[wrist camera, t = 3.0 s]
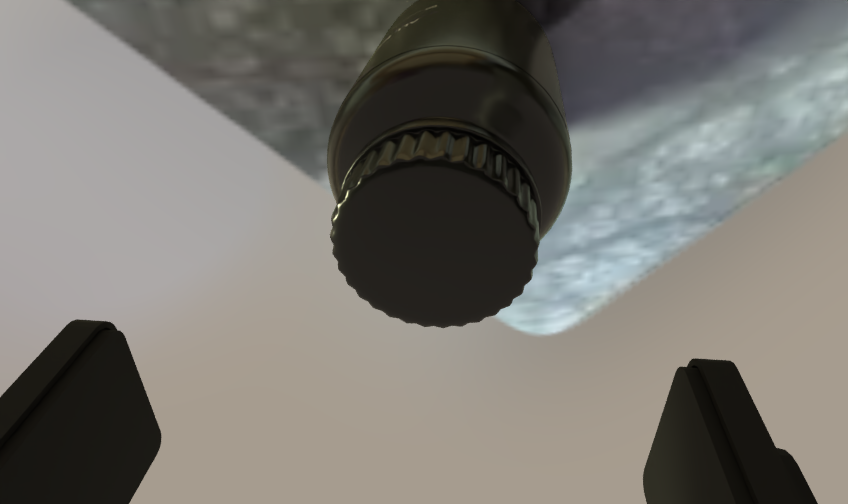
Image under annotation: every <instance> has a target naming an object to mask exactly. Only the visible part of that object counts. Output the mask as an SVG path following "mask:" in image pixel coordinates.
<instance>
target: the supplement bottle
mask: <svg viewBox="0 0 848 504" xmlns="http://www.w3.org/2000/svg"><path fill="white" fill-rule="evenodd" d="M327 168H328V176H329V181H330V186H331V189H332V192H333V196H334V198H335V200H336V203H337V205H336V208H335V210H334V212H333V214H332V218H331V221H332V226H333V228H332V230H331V234H330V238H331V240H332V242H333V244H334V246H333V255H334V257H335V258H336V259H337V261H338V269H339V271H341V273H342V274H343V275H344V276H345V277H346V281H347V284H348V285H349V286H351V287H353V288H354V289H355V290H356V292H357V294H358V295H359V297H360V298H362V299H364V300H366V301H368V302H369V303H370V305H371V306H372V307H373V308H375V309H378V310H381V311H383V312H384V313H386V314H387V315H388V316H389V317H393V318H399V319H401V320H403V321H404V322H406V323H417V324H419V325H421V326H424V327H429V326H436V327H441V328H445V327H448V326H464V325H466V324H467V323H473V322H474V323H475V322H480V321H481V320H483V319H484V318H485V317H489V316H494V315H496V314H497V313H498V312H499V310H500V309H502V308H505V307H508V306H510V305H511V303H512V301H513V299H514V298H516V297H518V296H519V295H521V294H522V293H523V290H524V286H525V285H526V284H527V283H528V282H529V281H530V280H531V279H532V276H533V268H534V267H535V266H536V264H537V261H538V246H539V243H540V240H541V239H542V238H543V237H544V236H545V235H546V234H547V233H548V231H549V230H550V229H551V227H552V226H553V225H554V223H555V222H556V220H557V218H558V217H559V215H560V213H561V211H562V209H563V206H564V204H565V202H566V198H567V195H568V192H569V188H570V183H571V175H572V153H571V144H570V138H569V132H568V127H567V121H566V116H565V111H564V106H563V101H562V96H561V91H560V85H559V80H558V75H557V70H556V65H555V61H554V57H553V53H552V49H551V47H550V44H549V41H548V39H547V37H546V35H545V33H544V31H543V29H542V28H541V26H540V25H539V23H538V22H537V20H536V19H535V18H534V17H533V15H532V14H531V13H530V12H529V11H528V10H527V9H526V8H524V7H523V6H522V5H521V4H519V3H518V2H517V1H515V0H418V1H416V2H415V3H413V4H412V5H411V6H410V7H409V8H407V9H406V10H405V11H404V12H403V13H402V14H401V15H400V16H399V17H398V18H397V20H396V21H395V22H394V23H393V25H392V26H391V28H390V29H389V30H388V32H387V33H386V35H385V36H384V38H383V40H382V41H381V43H380V44H379V46H378V47H377V49H376V51H375V52H374V54H373V55H372V57H371V58H370V60H369V62H368V63H367V65H366V66H365V68H364V69H363V71H362V73H361V74H360V76H359V77H358V79H357V80H356V82H355V84H354V85H353V87H352V88H351V90H350V92H349V93H348V95H347V96H346V98H345V99H344V101H343V103H342V105H341V107H340V109H339V111H338V113H337V115H336V118H335V120H334V123H333V126H332V128H331V132H330V136H329V142H328V149H327Z"/></svg>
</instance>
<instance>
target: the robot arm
mask: <svg viewBox="0 0 848 504" xmlns="http://www.w3.org/2000/svg"><path fill="white" fill-rule="evenodd" d="M160 444H161V432H160V429H159V426H158V423H157V421H156V418H155V415H154V413H153V410H152V407H151V405H150V402H149V399H148V397H147V394H146V391H145V389H144V386H143V383H142V381H141V378H140V376H139V373H138V370H137V367H136V365H135V362H134V360H133V357H132V354H131V352H130V349H129V346H128V344H127V341H126V338H125V336H124V334H123V333H122V332H121V331H117V329H116V327H115V326H114V324H112V323H111V322H106V321H91V320H74V321H71V322H70V323H69V324H68V325H66V327H65V328H64V329H63V330H62V331H61V332H60V333H59V334H58V335H57V336H56V337H55V338H54V340H53V341H52V342H51V343H50V344H49V345H48V346H47V347H46V348H45V350H43V352H42V353H41V354H40V355H39V356H38V357H37V358H36V359H35V360H34V361H33V362H32V363H31V364H30V366H29V367H28V368H27V369H26V370H25V371H24V372H23V373H22V374H21V375H20V376H19V377H18V379H17V380H16V381H15V382H14V383H13V384H12V385H11V386H10V387H9V388H8V389H7V390H6V392H5V393H4V394H3V395H2V396H1V397H0V504H129V503H130V501H131V499H132V497H133V495H134V494H135V492H136V490H137V488H138V487H139V485H140V483H141V481H142V480H143V478H144V476H145V474H146V472H147V471H148V469H149V467H150V465H151V464H152V462H153V460H154V459H155V457H156V455H157V453H158V451H159V448H160ZM643 486H644V493H645V497H646V502H647V504H818V503H817V501H816V499H815V497H814V495H813V493H812V491H811V490H810V488H809V486H808V484H807V482H806V480H805V478H804V476H803V474H802V472H801V470H800V468H799V466H798V464H797V463H796V461H795V460H794V458H793V457H792V456H791V455H790V454H789V453H788V452H787V451H786V450H783V449H779V448H776V447H775V445H774V443H773V441H772V439H771V437H770V435H769V433H768V431H767V429H766V427H765V424H764V422H763V420H762V418H761V416H760V414H759V412H758V410H757V408H756V406H755V404H754V402H753V400H752V398H751V396H750V394H749V392H748V390H747V387H746V385H745V383H744V381H743V379H742V377H741V375H740V373H739V371H738V369H737V367H736V366H735V364H734V363H733V362H731V361H726V360H708V359H692V360H691V361H690V362H689V364H688V366H687V367H679V368H678V369H677V371H676V373H675V376H674V380H673V382H672V385H671V389H670V392H669V395H668V398H667V401H666V404H665V407H664V411H663V413H662V416H661V419H660V423H659V426H658V429H657V432H656V435H655V438H654V441H653V444H652V447H651V450H650V453H649V456H648V460H647V463H646V466H645V469H644V474H643Z"/></svg>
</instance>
